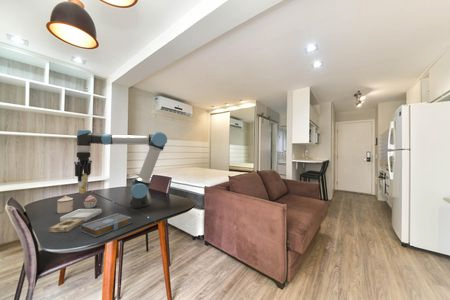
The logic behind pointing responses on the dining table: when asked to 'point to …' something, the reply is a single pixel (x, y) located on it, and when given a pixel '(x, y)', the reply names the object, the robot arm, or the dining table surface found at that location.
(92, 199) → the cupcake
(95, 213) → the tray
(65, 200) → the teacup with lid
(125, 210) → the dining table surface
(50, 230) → the block
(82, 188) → the lock pin
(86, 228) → the book
